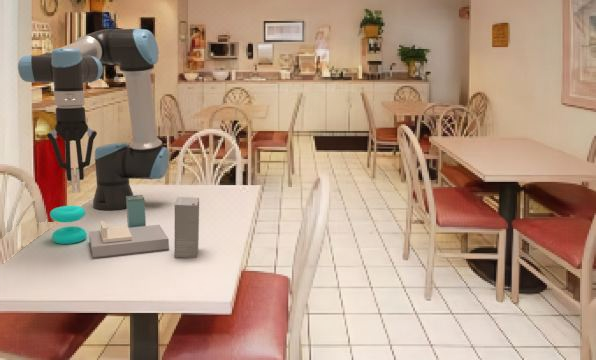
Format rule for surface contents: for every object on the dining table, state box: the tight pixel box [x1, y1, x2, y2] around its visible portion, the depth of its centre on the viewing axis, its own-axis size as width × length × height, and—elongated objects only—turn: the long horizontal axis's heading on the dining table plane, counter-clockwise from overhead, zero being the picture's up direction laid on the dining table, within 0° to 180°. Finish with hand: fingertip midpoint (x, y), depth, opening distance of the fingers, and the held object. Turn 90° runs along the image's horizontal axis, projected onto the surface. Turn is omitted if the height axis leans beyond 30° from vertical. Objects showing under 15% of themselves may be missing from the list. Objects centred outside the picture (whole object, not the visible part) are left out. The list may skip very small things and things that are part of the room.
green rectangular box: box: [126, 194, 147, 228], centre depth 195 cm, size 5×5×12 cm
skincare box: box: [173, 196, 200, 259], centre depth 176 cm, size 8×7×16 cm
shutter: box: [99, 220, 132, 243], centre depth 181 cm, size 12×8×4 cm, turn 22°
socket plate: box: [88, 224, 170, 260], centre depth 183 cm, size 16×21×4 cm
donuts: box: [49, 205, 88, 245], centre depth 189 cm, size 10×10×10 cm
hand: (76, 191), depth 172 cm, fingers closed
